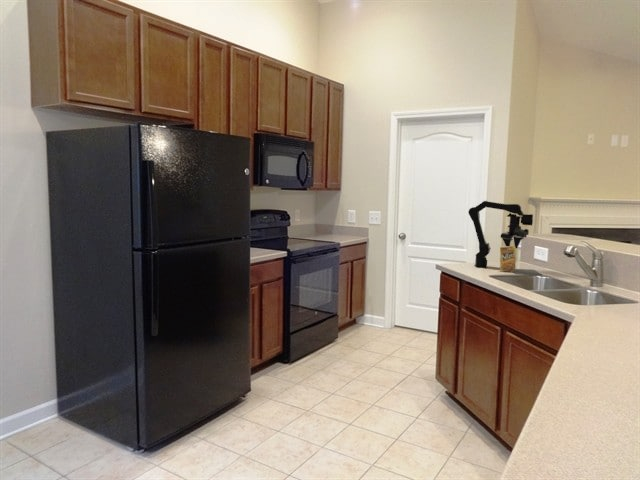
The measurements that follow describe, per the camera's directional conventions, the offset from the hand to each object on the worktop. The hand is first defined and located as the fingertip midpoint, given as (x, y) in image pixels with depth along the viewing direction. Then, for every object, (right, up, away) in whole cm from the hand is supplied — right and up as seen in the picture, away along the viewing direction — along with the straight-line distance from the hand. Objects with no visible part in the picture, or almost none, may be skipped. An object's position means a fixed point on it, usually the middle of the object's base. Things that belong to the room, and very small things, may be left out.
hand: (512, 248), depth 296 cm
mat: (+6, -14, -5) cm, 16 cm away
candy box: (-4, -14, -4) cm, 15 cm away
